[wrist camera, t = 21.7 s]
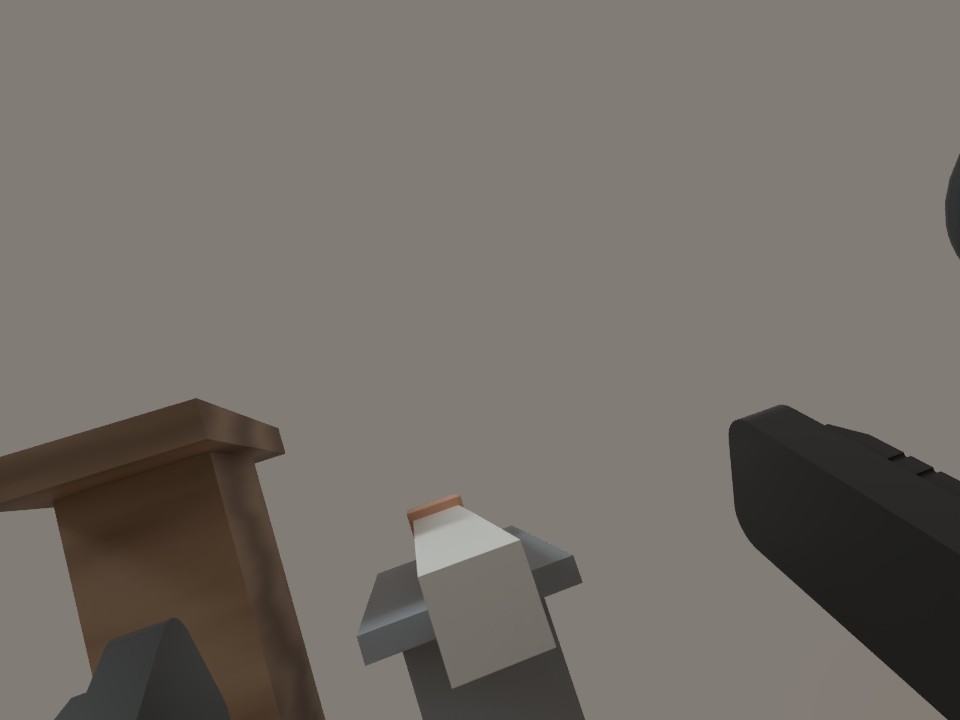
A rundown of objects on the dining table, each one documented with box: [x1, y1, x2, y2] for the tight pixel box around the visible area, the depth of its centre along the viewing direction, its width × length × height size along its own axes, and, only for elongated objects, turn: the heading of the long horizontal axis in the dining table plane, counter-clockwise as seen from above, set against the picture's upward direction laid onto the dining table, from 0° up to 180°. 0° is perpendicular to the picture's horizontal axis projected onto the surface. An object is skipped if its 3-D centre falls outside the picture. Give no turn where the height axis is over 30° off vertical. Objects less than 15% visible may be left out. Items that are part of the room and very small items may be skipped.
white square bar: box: [407, 494, 556, 689], centre depth 24 cm, size 22×3×3 cm, turn 6°
